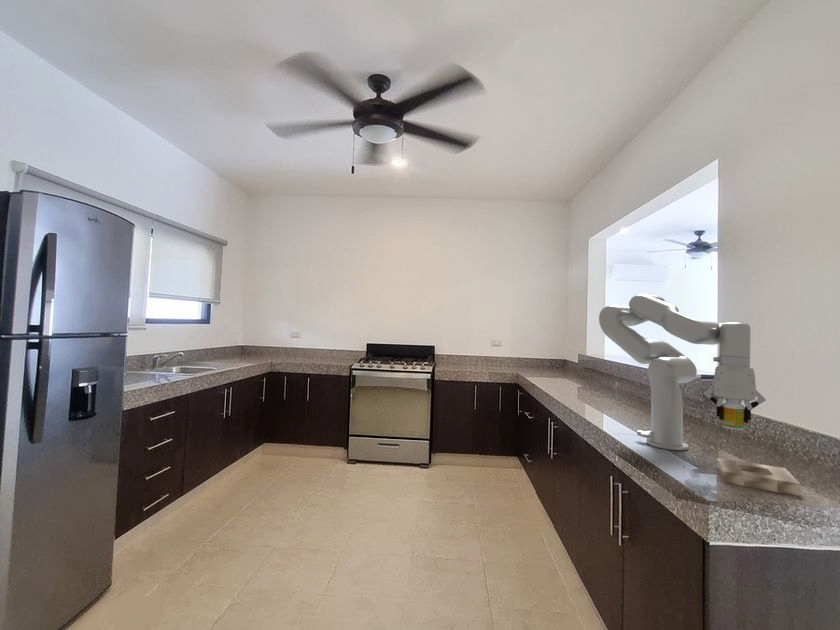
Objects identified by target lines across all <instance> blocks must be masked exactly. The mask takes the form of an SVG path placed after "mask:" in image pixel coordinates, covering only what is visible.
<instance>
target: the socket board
mask: <svg viewBox="0 0 840 630" xmlns="http://www.w3.org/2000/svg"><path fill="white" fill-rule="evenodd" d="M716 465H717V466H716V467H717V471H718V473H719V475H720V478H721V480H722V482H723V483H724V484H729V485H735V486H741V487H745V486H746V488H751V487H752V488H753V489H758V490H762V489H763V491H770V492H775V493H782V494H787V495H792V496H797V497H801V483H800V482H799V481H798V480H797V479H796V478H795V477H794V475H792V473H790V471H788V470H787V468H785V467H779V466H774V465H773V466H772V465H766V464H762V463H761V464H759V463H754V462H753V463H752V462H746V461H739V460H735V459H733V460H732V459H727V458H719V457H717V458H716Z"/></svg>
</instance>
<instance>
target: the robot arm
mask: <svg viewBox="0 0 840 630" xmlns="http://www.w3.org/2000/svg"><path fill="white" fill-rule="evenodd" d="M598 321H599V322H598V323H599V326H600V329H601V331H602V332H603V334H604V335H605V336H606V337H607V338H608V339H610V340H611V341H612V342H613V343H614V344H616V345H617V346H618V347H619V348H621V349H622V350H623V351H624V352H625V353H626V354H627V355H628V356H629V357H631V358H632V359H633V360H634V361H636V362H637V363H639V364H642V365H648V367H647V375H648V379H649V383H650V402H651V403H650V407H651V408H650V413H651V414H650V415H651V416H650V420H651V422H650V423H651V425H650V428H651V429H650V430H646V431H643V430H640V429H639V430H637V432H636V433H637V436H639V437H641V438H647V439H646V444H647V445H649V446H651V447H655V448H658V449H663V450H669V451H686V450H688V449H689V445H688V444H687V443H685V442H684V431H683V430H684V427H683V423H684V420H683V417H684V416H683V415H684V413H683V395H682V393H683V392H682V390H681V386H680V385H679V384H684V383H685V384H686V383H689V382H691V381H693V380H694V379H695V378H696V377H697V373H698V371H697V370H698V369H697V367H696V364H695V363H694V362H693V361H692V360H691V359H690V358H688V357H687V356H686V355H685V354H684V353H682V352H681V351H680V350H678V349H677V348H676V347H674V346H672V345H671V344H669V343H668V342H666V341H663V340H661V339H649V338H645V337H644V336H643V335H641V334H639V333H638V331H636V330H634V329H633V328H631V327H634V326H638V325H641V324H643V323H646V322H652V323H654V324H656V325H658V326H661V328H662V329H664V330H665V331H666V332H667V333H668V334H671V335H672V336H674V337H676V338H678V339H680V340H683V341H685V342H688V343H691V344H693V345H709V346H710V345H712V346H713V345H718V348H719V349H718V356H716V357H715V356H713V358H712V360H713V362H716V363H718V365H716V366H715V369H714V374H713V384H712V385H711V386H710V387H709V388H707V389H706V390H705V391H703V395H704V396H705V397H706V398H707V399H709V400H710V401H711V402H712V403H713V404H714V405H716V409H715V410H716V417H718V418H719V420H721V421H722V420H723V407H722V405H723V403H724V400H725V398H726V399H735V400H742V402H743V403H744V407H745V414H744V424H749V421H751V419H752V418H751V417H752V416H751V415H752V410H753V409H754V408H756V407H758V406H759V405H761V404H763V403H764V402H766V400H767V399H766V398H765V397H764V396H763V395H762V394H761V393H760V392H759V391H758V390H757V385H756V383H757V382H756V375H755V369H754V368H753V367H751V326H750V325H749V324H748V323H747V322H746V323H745V322H716V321H715V322H714V321H705V320H701V321H700V320H696V319H693V318H691V317H688V316H686V315H683V314H681V313H680V310H679V308H678V307H677V306H676V305H673V304H671V303H670V302H669V303H668V302H667V301H666V300H665V299H664V298H663V297H662V296H660V295H654V294H645V293H639V294H635V295H634V296H632V297H631V298H630V299H629V302H628V305H621V304H610V305H607V306H605V307H603V308H601V309H600V312H599V315H598ZM712 393H713V394H714V396H713V395H712ZM715 396H716V397H717V398H715ZM751 401H752V402H751Z"/></svg>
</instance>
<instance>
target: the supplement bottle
mask: <svg viewBox="0 0 840 630" xmlns="http://www.w3.org/2000/svg"><path fill="white" fill-rule="evenodd" d="M724 400H725V402H722V407H723V420H721V426H722V427H723V428H725V429H728V430H733V431H744V430H745V422H744V414H745V405H743V404H742V402H743V400H735V399H726V398H724Z"/></svg>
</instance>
